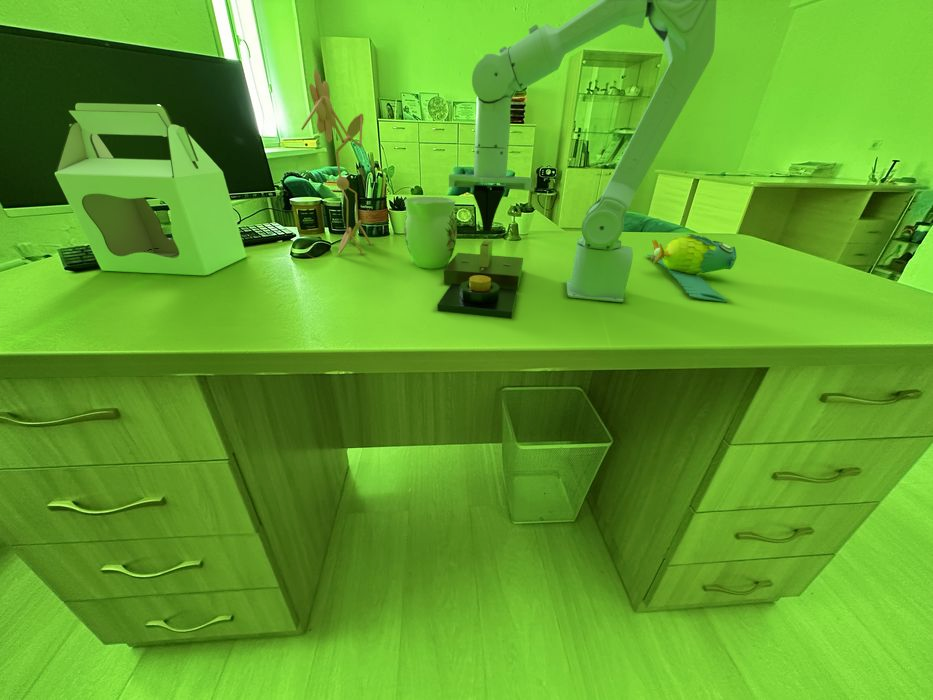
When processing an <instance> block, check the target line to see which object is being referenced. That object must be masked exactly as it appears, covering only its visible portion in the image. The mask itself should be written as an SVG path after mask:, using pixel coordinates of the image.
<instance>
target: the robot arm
mask: <svg viewBox="0 0 933 700" xmlns="http://www.w3.org/2000/svg"><path fill="white" fill-rule="evenodd" d="M717 2H718V1H717V0H597V1H595V2H594V3H592V4H591V5H590V6H588V7H586V8H585V9H583V10H582V11H580V12H579V13H578V14H576V15H575V16H573V17H572V18H570V19H569V20H567V21H566V22H565V23H563V24H561V25H560V26H559V27H554V26H552V25H549V24H546V23H544V24H543V25H541V26H538V24H537V23H535V24H533V25H532V26H530V27H529V28H528V33H529V34H528V35H526V36H524V37H523V38H521V39H520V40H518V41H516V42H515V43H513V44H511V45H510V46H509V47H507V46H504V45H503V46H502V47H501V48H499V49H498V52H499V54H496V53H486V54H484V55H483V57H482V58H481V59H480V60H479V61H478V62H477V63H476V64H475V66H474V68H473V71H472V75H471V85H472V89H473V92H474V94H475V95H476V96H477V97H476V102H475V103H476V105H475V106H476V107H475V124H474V125H475V126H474V155H473V156H474V158H473V159H474V160H473V161H474V163H473V174H465V173H464V174H460V173H458V174H457V173H456V174H455V173H451V174H449V175H448V188H449V187H450V188H455V187H457V188H458V187H461V188H473V191H472V194H473V197H474V200H475V202H476V205H477V207H478V210H479V214H480V219H481V224H482V231H483V232H491V231H492V228H493V223H494V221H495V216H496V213H497V210H498V208H499V205H500V204H501V201H502V199H503V196H504V195H505V193H506V190H517V191H519V190H520V191H529V192H530V191H531V190H532V183H533V181H532V180H533V177H528V176H524V177H523V176H514V175H513V176H512V175H507V173H508V162H509V161H508V160H509V146H510V145H509V144H510V128H511V108H512V107H511V106H512V99H513V98H514V97H515V94H516V92H517V91H518V92H521V91H523V90H525V89H526V88H528V87H530V86H532V85H533V84H535V83H538V82H539V81H540V80H542V79H544V78H545V77H547V76H549V75H551V74H552V73H555V72H556V71H558V70H559V68H560V67H561V64H562V61H563V58H564V57H565V55H567V54H569V53H570V52H572V51H574V50H576V49H578V48H579V47H581V46H583V45H585V44H587V43H589V42H591V41H592V40H594V39H597V38H598V37H600V36H602V35H604V34H606V33H608V32H610V31H612V30H613V29H615V28H617V27H619V26H622V25H624V26H629V27H633V28H638V29H643V28H644V25H645V24H644V23H645V20H646V18H647V20H648V23H649V26H650V27H651V29H652V30H653V31H654V33H655V34H656V35H657V37H658V38H659V39H660V40H661V42H662V46H663V48H664V51H665V56H666V59H667V63H668V65H667V68H666V70H665V72H664V73H663V76H662V77H661V79H660V82H659V83H658V85H657V87H656V89H655V91H654V93H653V95H652V97H651V99H650V101H649V102H648V105H647V107H646V109H645V110H644V113H643V114H642V116H641V118H640V120H639V122H638V124H637V125H636V127H635V130H634V131H633V134H632V136H631V138H630V139H629V141H628V144H627V146H626V147H625V150H624V151H623V153H622V156H621V157H620V159H619V161H618V163H617V165H616V167H615V169H614V170H613V173H612V175H611V177H610V179H609V181H608V182H607V184H606V186H605V188H604V190H603V192H602V194H601V195H600V197H599V198H598V200H596V201H595V202H594V203H593V204H591V205H590V207H589V208H588V209H587V211H586V214H585V217H583V220H582V223H581V230H580V231H581V237H579V238H577V243H576V248H575V254H574V260H573V266H572V272H571V276H570V277H571V278H570V280H567V281H566V293H567V297H568V298H570V299H582V300H593V301H602V302H603V301H604V302H614V303H624V300H625V299H624V296H625V294H626V293H625V292H626V289H627V285H628V280H629V278H630V272H631V269H632V264H633V257H634V253H633V248H632V247H631V246H627V245H622V240H620V237H621V236H622V233H623V232H624V222H625V217H626V214H627V212H628V210H630V207H631V205H632V203H633V200H634V197H635V195H636V193H637V191H638V190H639V187H640V186H641V185H642V182H643V181H644V179H645V177H646V175H647V174H648V171H650V168H651V166H652V165H653V162H654V161H655V160H656V157H657V155H658V154H659V153H660V150H661V149H662V147H663V145H664V144H665V141H666V140H667V137H668V136H669V134H670V132H671V130H672V129H673V127H674V125H675V124H676V121H678V118H679V116H680V115H681V113H682V112H683V109H684V107H685V106H686V104H687V102H688V100H689V98H690V97H691V95H692V93H693V91H694V90H695V88H696V86H697V84H698V82H699V81H700V79H701V77H702V75H703V73H704V72H705V70H706V68H707V66H709V63H710V61H711V59H712V57H713V54H714V51H715V43H716V42H715V39H716V22H717V21H716V20H717Z"/></svg>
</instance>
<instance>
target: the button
mask: <svg viewBox="0 0 933 700" xmlns="http://www.w3.org/2000/svg"><path fill="white" fill-rule="evenodd" d="M469 289H471V290H475V291H487V290H490V289H491V278H490V277H488V276H484V275H475V276H471V277H470V278H469Z"/></svg>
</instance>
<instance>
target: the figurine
mask: <svg viewBox="0 0 933 700" xmlns="http://www.w3.org/2000/svg"><path fill="white" fill-rule="evenodd" d="M313 80H314V84H312V83H311V82H309V85H308V88H309V93H310V97H311V100H312V102H313V108H312V110H311V111H310V113H309V114H308V116H307V117H306V119H305V121H304V123H303V125H302V126H301V128H300V129H301V130H302V131H304V129H305V128H306V126H307V125H308V124H309V122H310V121H311V119H312V118H313V116H314V114H316V128H317V131H318V133H319V134H323V133H325V138H326V141H327V142H328V144H330V143H331V142H332V141H333V129H335V131H336V133H337V135H338V137H339V139H340V141H341V143H342V144H341V145H340V146H339V147H337V148H336V149H335V159H336V166H337V171H338V177H337V179H336V182H335V183H336V187H338V189H340V190H341V192H342V194H343V195H344V198H345V200H346V230H345V232H344V234H343V235H342V237H341V240H340V243H339V247H338V252H337V255H340V254H341V253H342V252H343V251H344V249H345V248H346V247H347V244H348V242H351V241H352V242H353V243H354V245H355V246H356V249H357V250H358V251H359V253H360V254H361V255H363V254H364V252H363V250H362V248H361V247H360V245H359V244H358V242H357V241H356V239H355V235H356V234H357V233H358V230H359V229H360V231H361V232H362V234H363V236H364V237H365V239H366V241H367V242H368V244H369V245H370V246H371V245H372V244H373V243H372V242H371V240H370V238H369V237H368V235H367V234H366V233H367V232H366V231H365V230H364V228H363V227H362V225H361V224H362V220H361V219H359V212H358V211H359V210H358V209H359V208H358V193H357V192H356V191H355V190H354V189H352V188H350V182H349V180H348V179H347V177H345V176H342V175H341V174H342V173H341V165H340V157H339V152H340V151H341V150H342V149H343V148H344V147H345V146H346V145H347V143H348V142H353V143H354V144H355V145H356V146H358V147H359V148H362V146H363V144H362V143H363V126H364V119H365V118H364V114H363V113H359V115H357V116H355V117H354V118H353V119H352V120H351V122H350V123H349V125H348V127H347V130H346V129H345V127H344V125H343V123H342V122H341V120H340V118H339V116H338V115H337V114H336V112H335V110H334V108H333V105H332V102H331V93H330V85H329V83H328V81H326V80H324V81H323V82H322V77H321V75H320V73H319V72H318V70H317V69H314V70H313ZM337 123H338V124H337ZM338 125H339V126H340V128H341V130H342V131H343V133H344V135H345V136H346V137H343V135H342V133H341V131H340V129H339V126H338ZM358 134H359V139H358V141H357V140H355V139H354V138H355V137H356V136H358ZM347 189H348V190H349V191H351V192H352V193H354V198H355V199H354V201H355V214H356V215H355V216H356V222H355V224H354V227H353V228H352V227H350V226H349V198H348V196H347V194H346V193H345V190H347ZM373 238H374V239H379V237H376V236H373V237H372V239H373ZM315 245H316V243H314V244H311V245H309V246H306V247H305V249H306V251H305V252H307V250H309V248H311V247H313V246H315ZM303 254H304V255H306V254H305V253H303ZM308 257H310V258H313V259H315V257H314V256H311V255H310V254H308Z"/></svg>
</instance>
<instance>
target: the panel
mask: <svg viewBox="0 0 933 700" xmlns="http://www.w3.org/2000/svg"><path fill="white" fill-rule="evenodd" d="M523 266H524V257H520V256H519V257H517V256H507V255H506V256H504V255H494V254H492V260H491V262H490V264H489V266H488V267H480V253H465V252H457V253H456V254H455V256H454V257H453V258H451V259H450V261H449V262H448V263H447V264H446V266H445V267H444V269H443V285H444V286H450V285H451V284H462V283H463V282H466V281H469V278H470V277H471V276H475V275H484V276H488V277H490V278H491V282H494V283H496V284H497V285H499V286H500V288H506V289H517V292H518V291H519V286H520V283H521V277H522V274H523Z"/></svg>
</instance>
